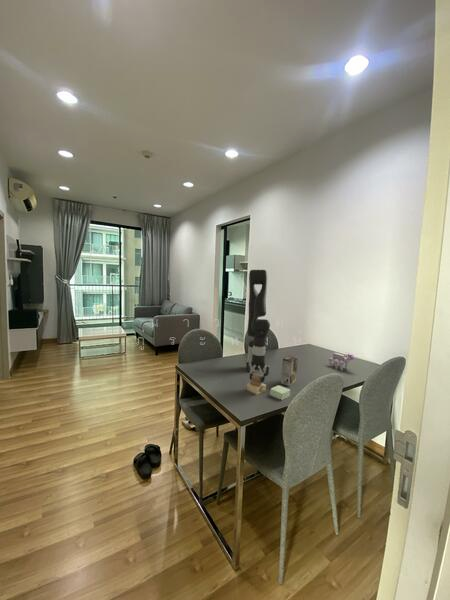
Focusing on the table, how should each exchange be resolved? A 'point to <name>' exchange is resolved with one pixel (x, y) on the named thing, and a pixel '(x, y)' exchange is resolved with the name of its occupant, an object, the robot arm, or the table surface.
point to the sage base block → (280, 392)
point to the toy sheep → (341, 359)
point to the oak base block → (256, 388)
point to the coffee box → (289, 370)
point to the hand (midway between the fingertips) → (256, 380)
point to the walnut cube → (256, 380)
